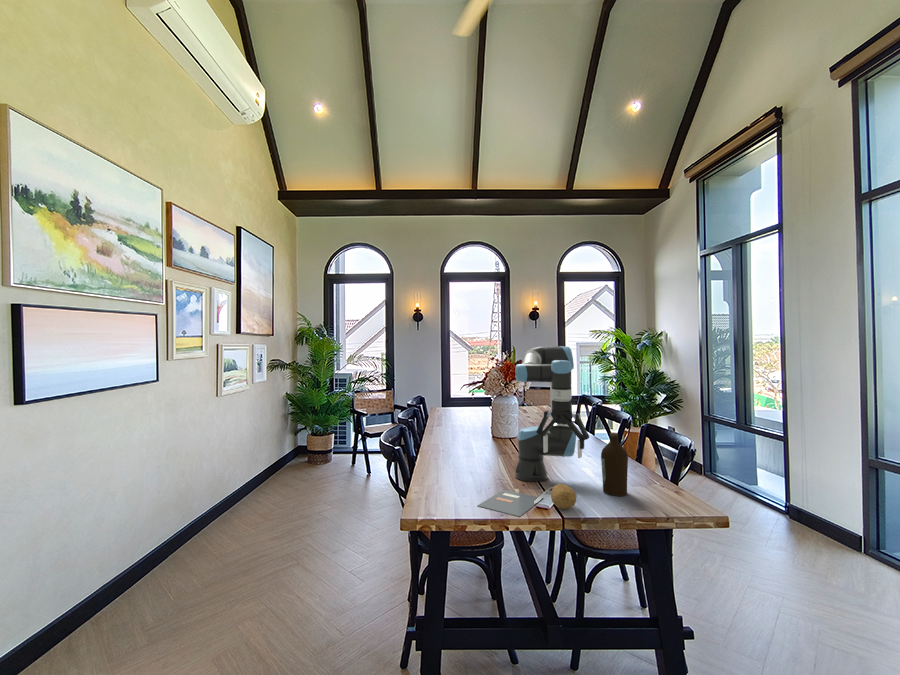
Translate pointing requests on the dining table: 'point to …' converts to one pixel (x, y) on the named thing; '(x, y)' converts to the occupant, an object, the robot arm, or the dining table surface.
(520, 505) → the tile
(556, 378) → the robot arm
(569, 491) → the potato
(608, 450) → the olive oil
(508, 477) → the dining table surface
